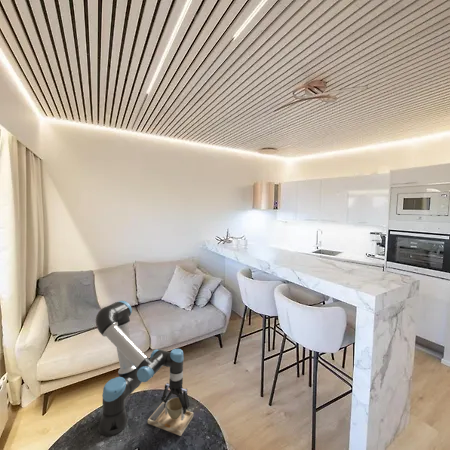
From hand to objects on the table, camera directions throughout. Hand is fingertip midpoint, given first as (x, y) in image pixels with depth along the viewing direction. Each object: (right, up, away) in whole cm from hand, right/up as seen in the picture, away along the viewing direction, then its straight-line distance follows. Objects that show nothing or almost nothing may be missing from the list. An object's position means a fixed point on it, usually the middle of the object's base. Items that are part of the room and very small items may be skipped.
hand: (174, 415), depth 141 cm
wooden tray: (-2, -3, +1) cm, 4 cm away
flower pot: (0, 0, 0) cm, 1 cm away
